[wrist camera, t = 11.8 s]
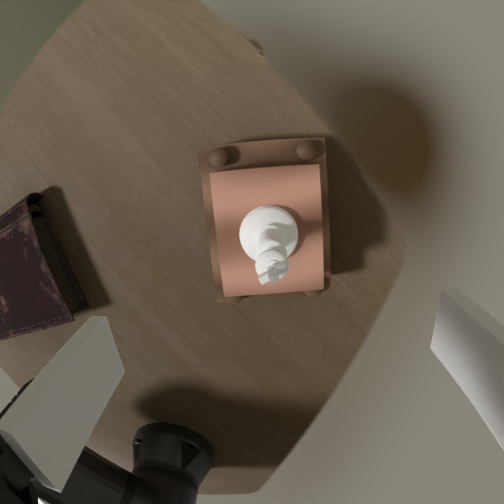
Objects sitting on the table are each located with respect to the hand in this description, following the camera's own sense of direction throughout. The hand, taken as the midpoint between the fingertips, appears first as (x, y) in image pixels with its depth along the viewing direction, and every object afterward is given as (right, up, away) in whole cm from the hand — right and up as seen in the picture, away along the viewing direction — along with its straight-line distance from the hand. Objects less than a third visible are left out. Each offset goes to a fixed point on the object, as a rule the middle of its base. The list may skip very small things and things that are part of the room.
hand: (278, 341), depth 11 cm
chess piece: (0, +5, +15) cm, 16 cm away
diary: (-39, 0, +28) cm, 48 cm away
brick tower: (+1, +7, +24) cm, 25 cm away
